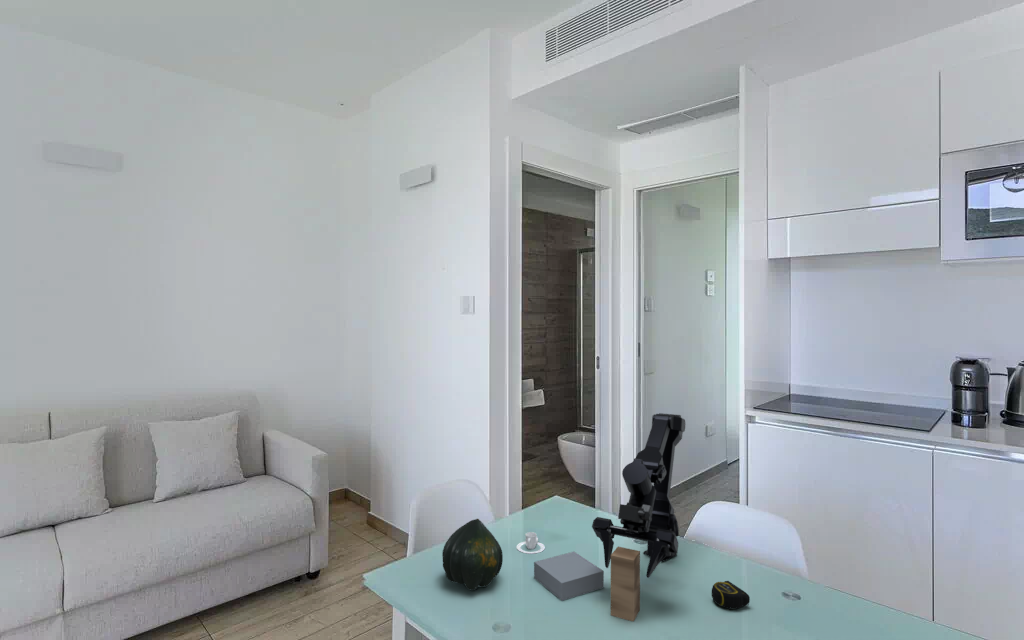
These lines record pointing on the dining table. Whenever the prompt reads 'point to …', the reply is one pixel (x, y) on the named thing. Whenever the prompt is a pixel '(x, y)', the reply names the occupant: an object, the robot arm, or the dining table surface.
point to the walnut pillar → (625, 583)
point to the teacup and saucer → (530, 543)
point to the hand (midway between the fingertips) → (626, 572)
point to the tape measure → (729, 595)
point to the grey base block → (568, 575)
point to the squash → (472, 556)
